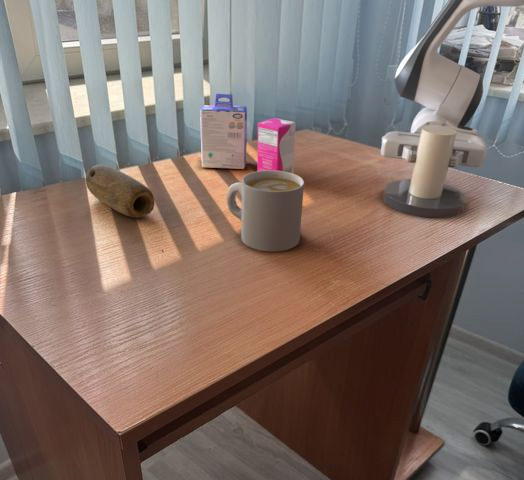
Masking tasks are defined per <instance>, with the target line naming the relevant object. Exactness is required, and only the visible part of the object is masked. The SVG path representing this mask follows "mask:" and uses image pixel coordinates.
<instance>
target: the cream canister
mask: <svg viewBox="0 0 524 480" xmlns="http://www.w3.org/2000/svg"><path fill="white" fill-rule="evenodd" d="M456 135H457V131H456V130H455V129H452V128H449V127H445V126H436V125H430V126H424V127H422V130H421V135H420V140H419V144H418V149H417V156H416V158H415V159H416V161H415V163H413V168H412V172H411V178H410V179H411V182H410V187H409V193H410V194H412V195H413V196H416V197H419V198H424V199H435V198H439V197H440V196H441V195H442V191H443V187H444V184H446V183H445V182H446V179H447V176H448V175H447V174H448V170H449V168H450V167H449V163H450V159H451V155H452V151H453V147H454V143H455V139H456Z"/></svg>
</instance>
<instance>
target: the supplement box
mask: <svg viewBox="0 0 524 480" xmlns="http://www.w3.org/2000/svg"><path fill="white" fill-rule="evenodd" d="M295 139H296V122H295V121H291V120H285V119H281V118H277V117H273V118H270V119H266V120H262V121H260V122H258V123H257V157H256V158H257V160H256V161H257V165H256V166H257V167H256V168H257V170H256V171H263V170H277V171H285V172H289V173H293V174H294V166H295V165H294V164H295V163H294V161H295V159H294V158H295V144H296V143H295V142H296V140H295Z"/></svg>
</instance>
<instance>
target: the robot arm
mask: <svg viewBox="0 0 524 480" xmlns="http://www.w3.org/2000/svg"><path fill="white" fill-rule="evenodd" d="M521 6H524V0H447V2H446V3H445V4H444V5H443V7H442V9H441V10H440V11H439V13H438V14H437V16H435V18H434V20H433V21H432V22H431V23H430V25H429V26H428V28H427V29H426V30H425V32H424V33H423V35H422V36H421V37H420V39H419V40H418V41H417V42H416V44H415V45H414V46H413V48H411V49H410V50H409V51H408V53H407V54H406V55H405V56H404V57H403V58H402V60H401V61H400V63H399V65H398V67H397V69H396V72H395V76H394V78H393V81H394V85H395V89H396V91H397V94H398V95H399V97H401V98H403V99H406V100H408V101H412V102H415V103H417V104H420V105H422V106H424V107H423V108H422V109H420V111H419V112H418V113H417V114H416V115H415V117H414V119H413V120H412V123H411V126H410V132H408V131H397V130H393V131H388V132H387V133H386V134H384V135H383V136H382V137H381V140H380V141H381V148H380V156H382V157H384V158H390V159H397V160H399V159H400V160H406V162H407V163H410V164H411V163H412V164H414V163H415V161H416V159H415V158H416V156H417V149H418V144H419V140H420V135H421V130H422V127H424V126H430V125H436V126H445V127H449V128H452V129H455V130H456V131H457V135H456V139H455V143H454V147H453V151H452V155H451V159H450V163H449V167H448V168H457V166H463V167H470V168H471V167H472V168H480V167H483V165H484V163H485V159H486V156H487V153H488V147H487V144H486V142H485V140H484V139H483V138H482V137H481V136H479V135H478V134H479V130H478V129H476V128H472V127H469V126H466V125H467V124H468V123H469V122H470V121H471V120H472V117H473V116H474V115H475V113H476V111H477V110H478V107H479V105H480V103H481V100H482V98H483V95H484V83H483V78H482V75H481V74H479V73H478V72H476V71H474V70H472V69H470V68H468V67H466V66H464V65H462V64H459V63H457V62H455V61H453V60H451V59H450V58H447V57H446V56H444V55H442V54H440V53H439V50H438V49H439V48H440V47H441V45H442V44H443V43H444V42H445V40H446V39H447V38H448V36H449V35H450V34H451V33H452V32H453V30H454V28H456V26H457V24H458V23H460V21H461V19H463V17H465V15H466V14H468V13H469V12H470V11H473V10H474V9H478V8H482V7H505V8H506V7H507V8H508V7H510V8H513V7H521Z"/></svg>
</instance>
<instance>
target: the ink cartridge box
mask: <svg viewBox="0 0 524 480" xmlns="http://www.w3.org/2000/svg"><path fill="white" fill-rule="evenodd" d="M222 98H223V99H224V98H225V99H227V100H229V101H223V100H222V101H221V100H219V99H222ZM199 120H200V121H199V122H200V147H201V148H200V149H201V151H200V154H201V168H209V169H211V168H212V169H213V168H214V169H216V168H217V169H233V170H234V169H236V170H245V167H246V164H247V144H248V143H247V141H248V140H247V139H248V108H247V106H246V105H234V103H233V94H228V93H227V94H225V93H216V94H215V102H214V105H213V104H212V105H211V104H203V105H202V107H201V109H199Z"/></svg>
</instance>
